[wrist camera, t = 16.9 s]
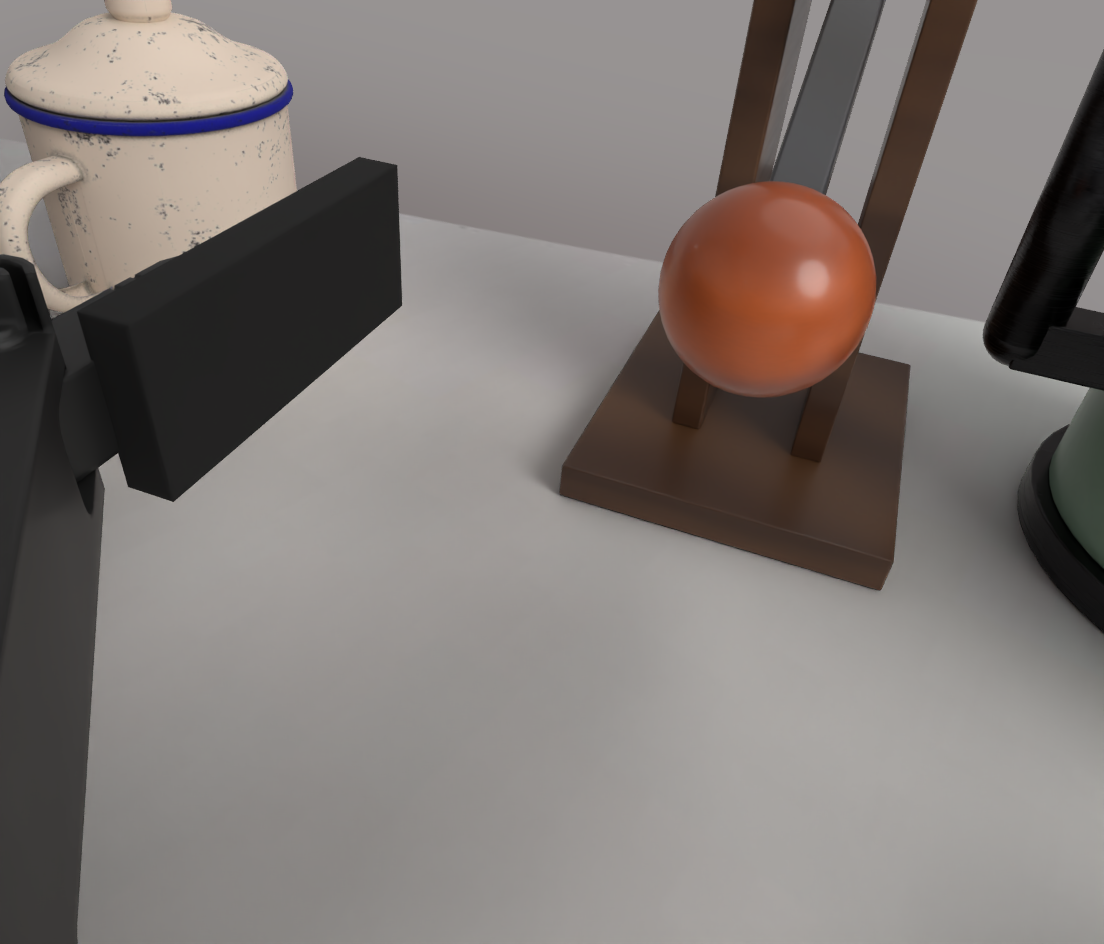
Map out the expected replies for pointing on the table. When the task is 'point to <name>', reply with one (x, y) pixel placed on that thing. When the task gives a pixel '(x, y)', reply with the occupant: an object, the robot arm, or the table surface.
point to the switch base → (794, 419)
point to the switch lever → (781, 245)
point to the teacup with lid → (142, 143)
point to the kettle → (1063, 357)
